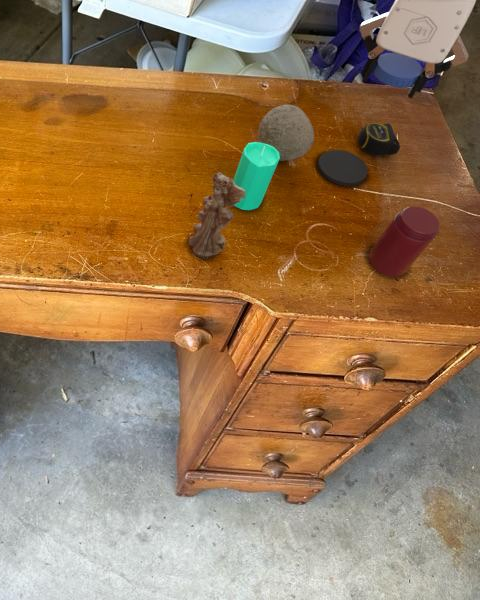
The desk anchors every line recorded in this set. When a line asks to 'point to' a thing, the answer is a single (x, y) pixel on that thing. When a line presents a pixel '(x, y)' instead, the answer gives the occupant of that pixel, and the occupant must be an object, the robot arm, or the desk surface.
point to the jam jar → (404, 241)
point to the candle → (255, 173)
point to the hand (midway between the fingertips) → (388, 85)
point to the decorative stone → (287, 131)
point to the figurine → (215, 216)
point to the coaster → (342, 167)
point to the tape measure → (378, 139)
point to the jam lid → (397, 70)
